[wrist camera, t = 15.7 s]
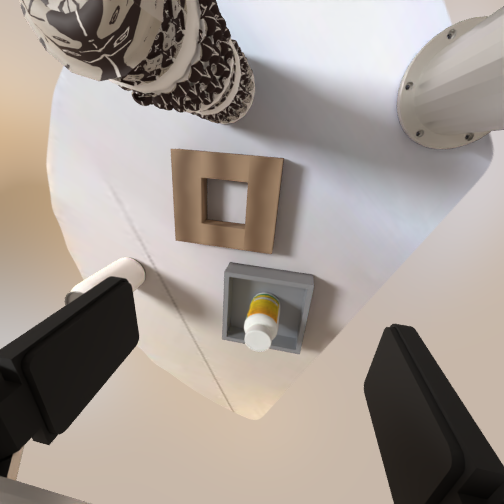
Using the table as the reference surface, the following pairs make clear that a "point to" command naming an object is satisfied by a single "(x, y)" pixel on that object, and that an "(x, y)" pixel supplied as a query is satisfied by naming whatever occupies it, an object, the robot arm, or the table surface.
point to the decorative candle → (150, 51)
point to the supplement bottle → (262, 322)
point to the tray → (278, 284)
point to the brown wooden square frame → (234, 169)
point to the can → (118, 269)
